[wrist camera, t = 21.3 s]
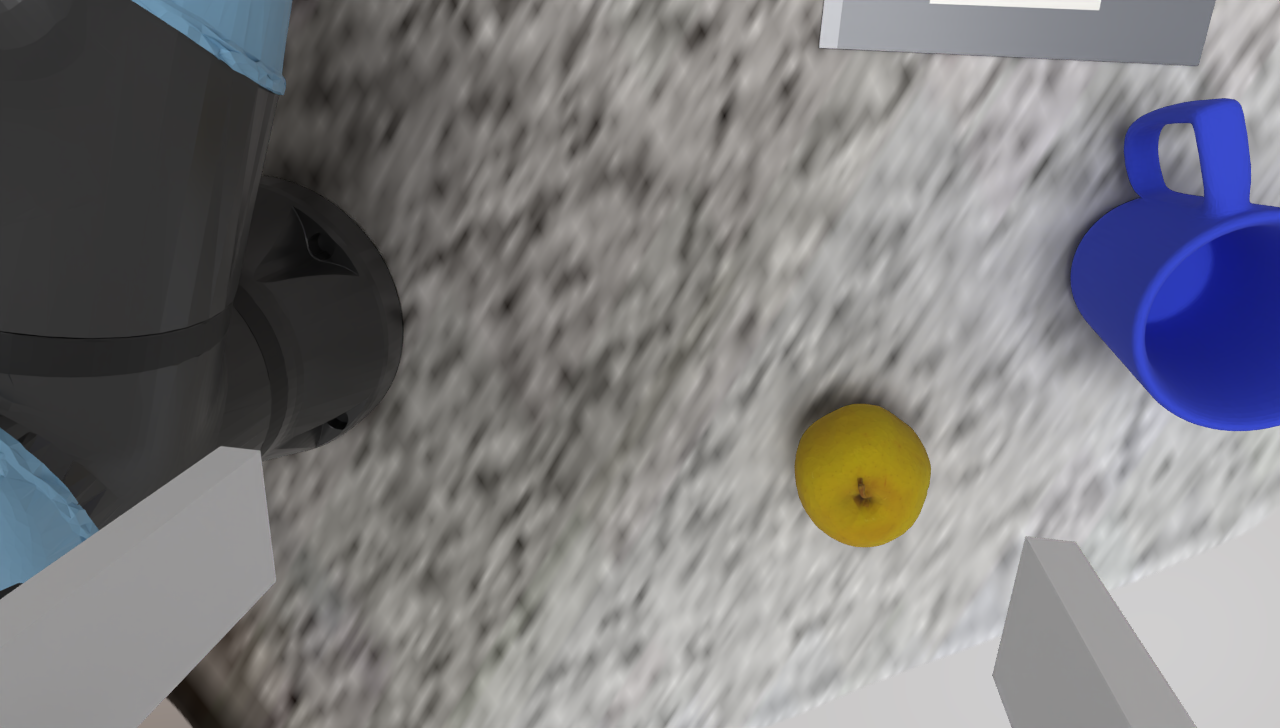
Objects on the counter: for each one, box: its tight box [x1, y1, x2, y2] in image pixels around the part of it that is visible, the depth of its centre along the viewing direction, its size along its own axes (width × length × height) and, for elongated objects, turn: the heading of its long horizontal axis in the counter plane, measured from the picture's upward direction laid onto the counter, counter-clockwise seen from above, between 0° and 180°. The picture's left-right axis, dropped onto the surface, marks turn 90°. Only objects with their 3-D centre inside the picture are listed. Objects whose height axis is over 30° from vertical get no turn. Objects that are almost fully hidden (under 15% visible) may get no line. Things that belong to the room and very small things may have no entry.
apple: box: [795, 404, 931, 547], centre depth 40 cm, size 6×6×8 cm
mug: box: [1071, 98, 1280, 431], centre depth 33 cm, size 8×12×10 cm
